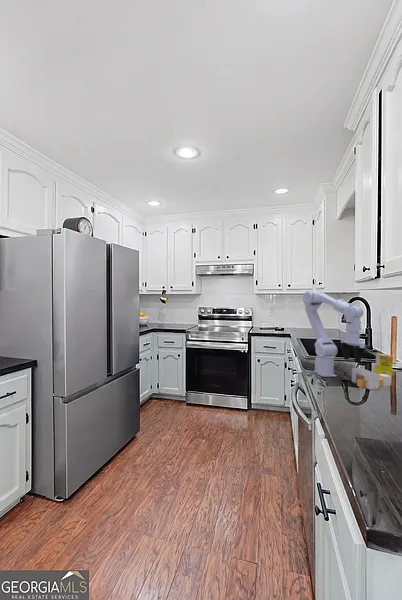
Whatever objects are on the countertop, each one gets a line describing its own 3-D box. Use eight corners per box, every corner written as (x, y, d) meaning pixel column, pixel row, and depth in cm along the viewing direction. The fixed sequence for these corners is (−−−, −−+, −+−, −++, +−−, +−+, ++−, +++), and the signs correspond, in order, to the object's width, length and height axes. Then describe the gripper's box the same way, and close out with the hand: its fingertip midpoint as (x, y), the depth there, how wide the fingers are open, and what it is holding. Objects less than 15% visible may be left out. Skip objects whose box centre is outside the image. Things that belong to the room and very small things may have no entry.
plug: (355, 385, 140) (356, 375, 140) (385, 383, 145) (386, 373, 145) (362, 387, 137) (362, 377, 136) (393, 385, 141) (393, 376, 141)
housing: (351, 381, 146) (352, 368, 146) (361, 381, 147) (361, 368, 147) (368, 389, 135) (369, 374, 134) (378, 389, 135) (379, 374, 135)
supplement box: (392, 378, 155) (393, 356, 154) (379, 377, 156) (380, 355, 155) (387, 374, 160) (388, 354, 160) (374, 374, 162) (375, 353, 161)
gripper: (335, 329, 150) (334, 357, 150) (355, 333, 135) (354, 364, 135) (348, 330, 151) (347, 357, 151) (369, 333, 136) (368, 364, 137)
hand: (351, 360), depth 143 cm, fingers open, 7 cm apart
